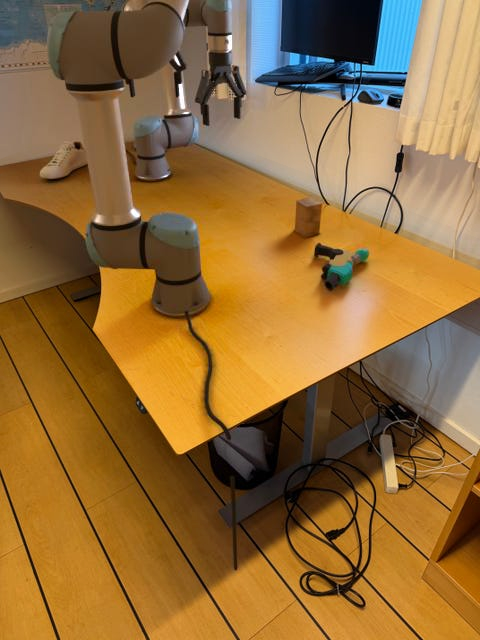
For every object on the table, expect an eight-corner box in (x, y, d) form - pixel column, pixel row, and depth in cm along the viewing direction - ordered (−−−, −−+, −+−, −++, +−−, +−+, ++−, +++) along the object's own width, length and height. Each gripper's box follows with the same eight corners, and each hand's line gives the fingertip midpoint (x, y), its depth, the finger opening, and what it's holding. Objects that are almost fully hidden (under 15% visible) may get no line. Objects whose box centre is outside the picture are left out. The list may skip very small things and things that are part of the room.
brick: (309, 226, 162) (311, 197, 156) (319, 233, 158) (322, 203, 151) (294, 230, 160) (296, 200, 154) (304, 237, 156) (306, 206, 149)
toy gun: (291, 271, 128) (345, 285, 123) (324, 234, 147) (372, 245, 141) (290, 285, 131) (343, 299, 125) (322, 247, 150) (369, 258, 144)
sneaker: (33, 182, 200) (26, 152, 193) (72, 161, 222) (66, 134, 215) (55, 184, 198) (48, 154, 191) (91, 163, 220) (86, 135, 213)
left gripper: (195, 56, 141) (199, 130, 154) (257, 48, 154) (256, 117, 167) (180, 53, 146) (185, 125, 158) (242, 45, 159) (242, 113, 171)
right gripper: (193, 10, 132) (198, 93, 144) (105, 11, 134) (117, 93, 146) (189, 12, 126) (194, 99, 138) (97, 13, 127) (110, 99, 140)
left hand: (222, 121), depth 163 cm, fingers open, 13 cm apart
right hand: (155, 96), depth 142 cm, fingers open, 13 cm apart
